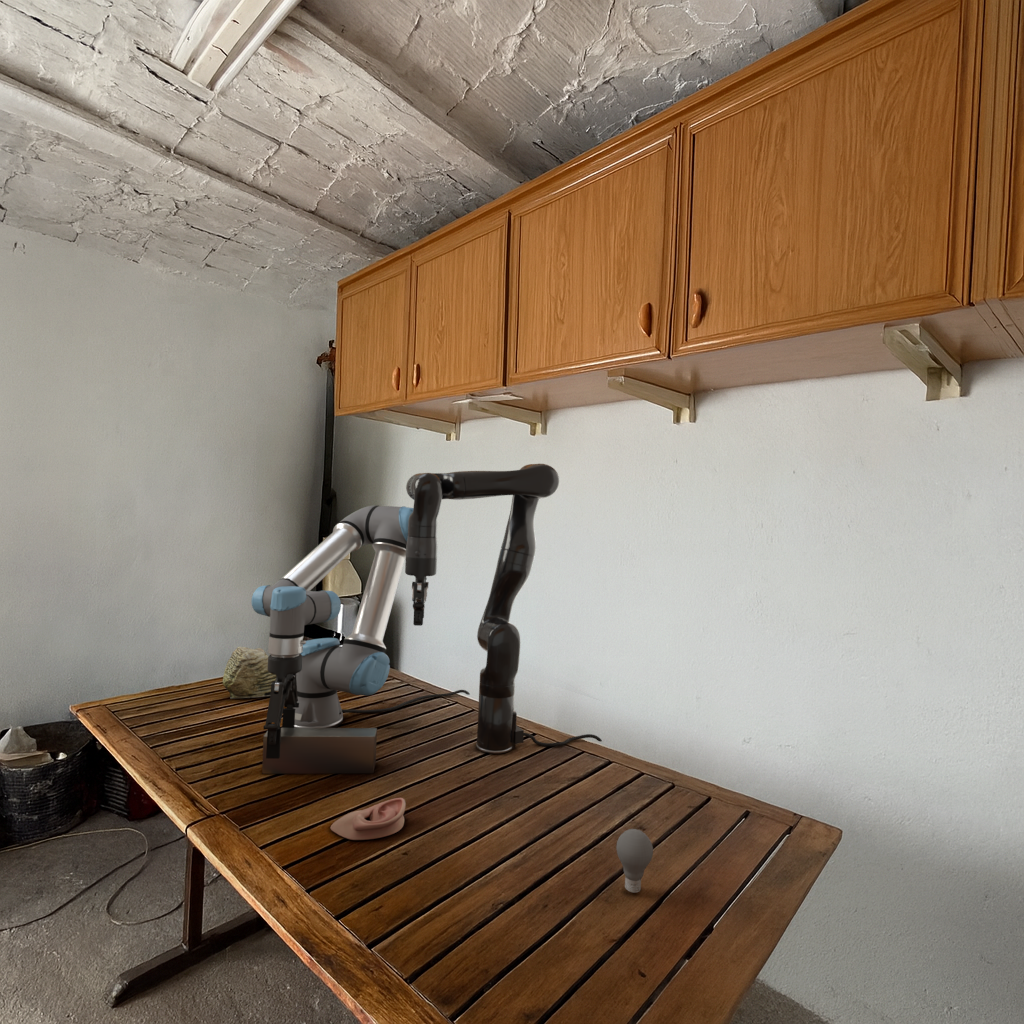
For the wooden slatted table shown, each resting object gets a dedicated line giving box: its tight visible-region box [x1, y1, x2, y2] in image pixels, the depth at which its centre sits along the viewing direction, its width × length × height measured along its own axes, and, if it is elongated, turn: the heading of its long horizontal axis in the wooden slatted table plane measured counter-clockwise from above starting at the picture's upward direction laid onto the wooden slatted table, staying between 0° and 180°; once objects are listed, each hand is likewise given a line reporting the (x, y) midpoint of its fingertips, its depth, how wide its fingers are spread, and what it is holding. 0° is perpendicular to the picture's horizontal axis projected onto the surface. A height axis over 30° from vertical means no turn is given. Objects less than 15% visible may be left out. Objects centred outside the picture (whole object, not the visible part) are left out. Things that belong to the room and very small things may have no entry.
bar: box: [261, 727, 378, 775], centre depth 147 cm, size 25×5×9 cm, turn 96°
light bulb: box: [615, 828, 654, 894], centre depth 106 cm, size 6×6×10 cm
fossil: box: [222, 646, 276, 699], centre depth 198 cm, size 9×18×15 cm, turn 132°
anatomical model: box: [330, 797, 407, 841], centre depth 123 cm, size 13×4×12 cm
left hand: (280, 746), depth 146 cm, fingers open, 13 cm apart
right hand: (418, 621), depth 154 cm, fingers open, 8 cm apart
